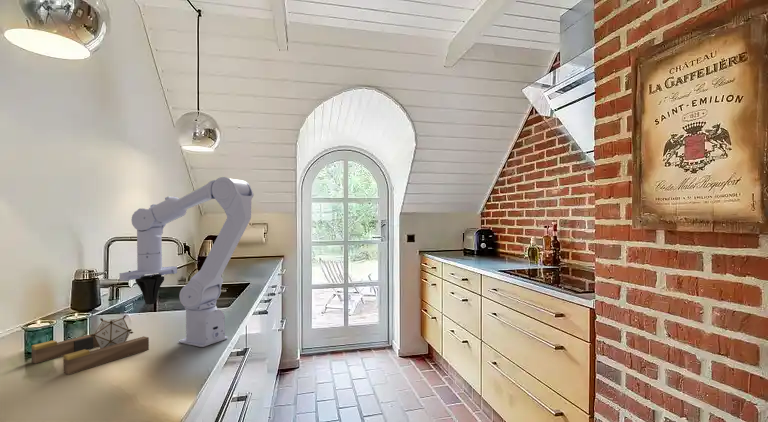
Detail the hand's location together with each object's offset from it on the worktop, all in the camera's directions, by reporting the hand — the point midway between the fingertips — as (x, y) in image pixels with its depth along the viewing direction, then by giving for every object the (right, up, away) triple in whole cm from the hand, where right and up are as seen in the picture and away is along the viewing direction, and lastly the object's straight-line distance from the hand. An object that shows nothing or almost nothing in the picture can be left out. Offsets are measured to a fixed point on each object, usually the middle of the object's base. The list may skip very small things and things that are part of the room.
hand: (150, 303), depth 107 cm
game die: (-4, -10, -8) cm, 14 cm away
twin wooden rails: (-6, -9, -12) cm, 17 cm away
